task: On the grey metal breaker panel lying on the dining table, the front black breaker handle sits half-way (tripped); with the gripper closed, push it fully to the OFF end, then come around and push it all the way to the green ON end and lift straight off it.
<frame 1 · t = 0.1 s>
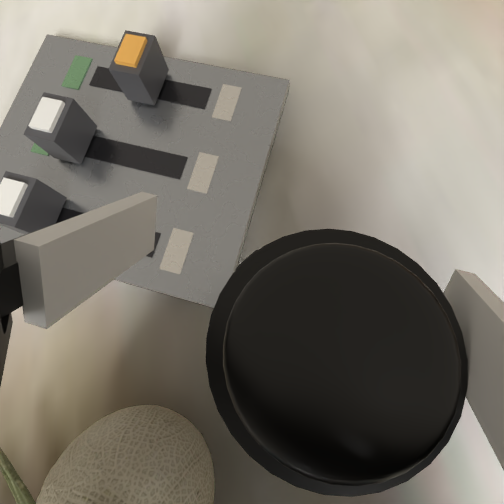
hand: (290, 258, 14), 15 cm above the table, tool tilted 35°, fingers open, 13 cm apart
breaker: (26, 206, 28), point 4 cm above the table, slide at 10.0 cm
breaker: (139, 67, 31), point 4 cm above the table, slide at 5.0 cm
french press: (317, 340, 27), on the table, touching gripper
fruit: (168, 459, 27), on the table
panel: (129, 161, 33), on the table
breaker middle: (61, 128, 30), point 4 cm above the table, slide at 10.0 cm
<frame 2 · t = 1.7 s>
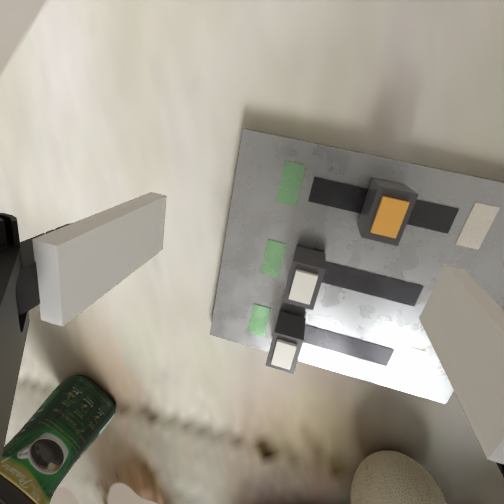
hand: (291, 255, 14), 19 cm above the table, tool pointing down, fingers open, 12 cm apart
coffee jar: (91, 396, 51), on the table
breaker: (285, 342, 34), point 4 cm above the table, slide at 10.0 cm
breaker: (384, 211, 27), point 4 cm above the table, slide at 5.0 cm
fruit: (392, 460, 42), on the table
panel: (352, 273, 34), on the table
breaker middle: (304, 277, 31), point 4 cm above the table, slide at 10.0 cm
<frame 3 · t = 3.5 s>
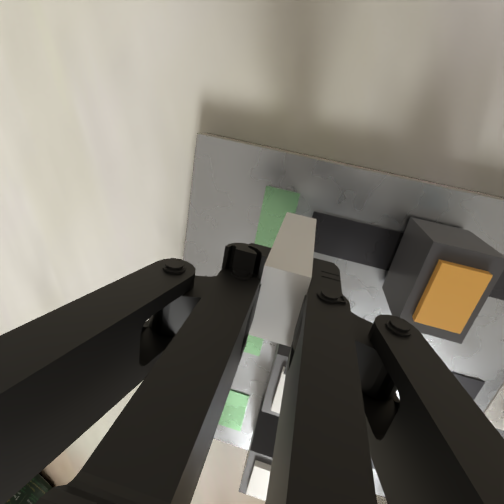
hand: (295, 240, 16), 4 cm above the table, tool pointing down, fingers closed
coffee jar: (24, 474, 39), on the table
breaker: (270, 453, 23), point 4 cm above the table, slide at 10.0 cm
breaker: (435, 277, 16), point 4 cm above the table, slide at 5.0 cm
panel: (370, 350, 23), on the table
breaker middle: (297, 369, 19), point 4 cm above the table, slide at 10.0 cm
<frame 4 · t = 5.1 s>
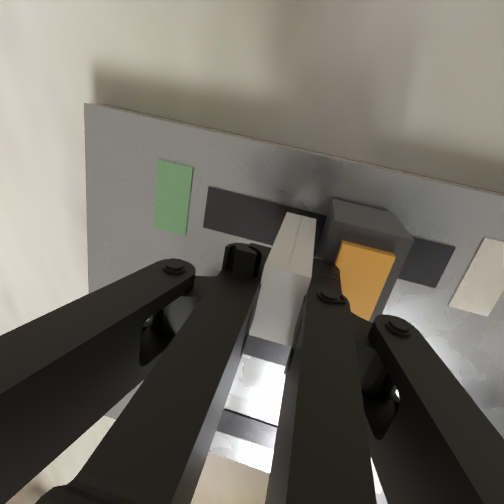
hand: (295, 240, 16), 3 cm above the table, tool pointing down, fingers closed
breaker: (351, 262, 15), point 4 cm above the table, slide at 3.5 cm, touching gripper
panel: (288, 336, 22), on the table
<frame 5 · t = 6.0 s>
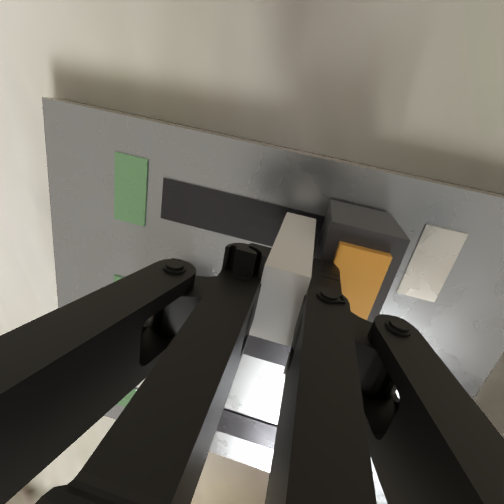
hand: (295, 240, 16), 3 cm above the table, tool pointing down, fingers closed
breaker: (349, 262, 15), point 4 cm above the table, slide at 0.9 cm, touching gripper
panel: (251, 325, 22), on the table
breaker middle: (156, 341, 19), point 4 cm above the table, slide at 10.0 cm
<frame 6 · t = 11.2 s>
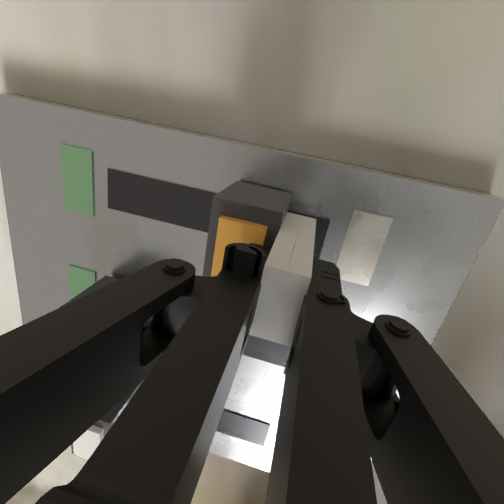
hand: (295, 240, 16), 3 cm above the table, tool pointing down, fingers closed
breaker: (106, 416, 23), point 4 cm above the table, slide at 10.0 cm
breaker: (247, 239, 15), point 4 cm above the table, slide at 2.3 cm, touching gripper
panel: (204, 313, 23), on the table
breaker middle: (105, 327, 20), point 4 cm above the table, slide at 10.0 cm
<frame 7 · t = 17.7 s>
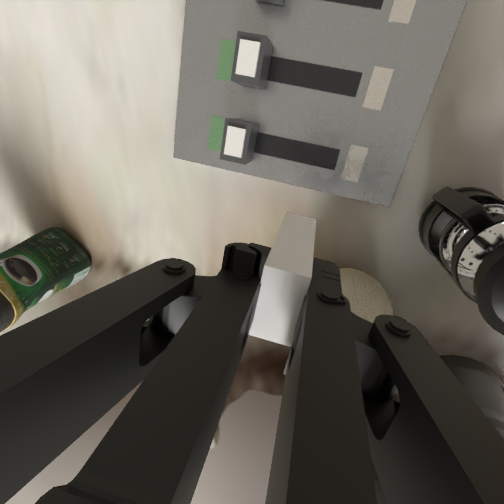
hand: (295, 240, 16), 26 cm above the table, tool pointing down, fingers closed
coffee jar: (68, 254, 53), on the table
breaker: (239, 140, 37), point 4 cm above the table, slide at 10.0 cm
french press: (457, 222, 39), on the table
fruit: (347, 289, 45), on the table
panel: (301, 76, 36), on the table
breaker middle: (252, 62, 33), point 4 cm above the table, slide at 10.0 cm
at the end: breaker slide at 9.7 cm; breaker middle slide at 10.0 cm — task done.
